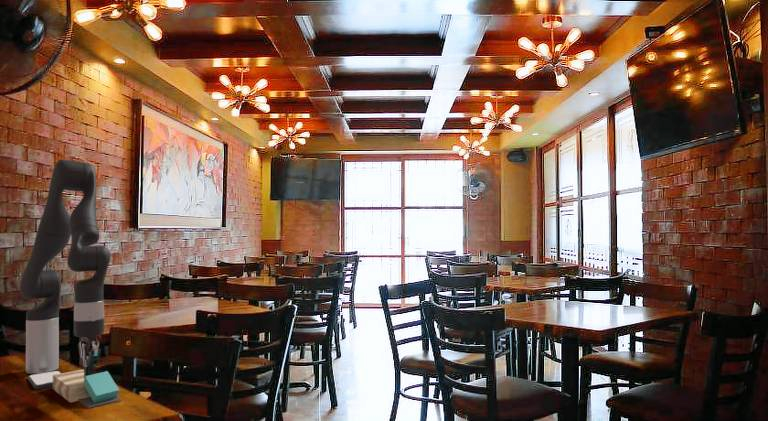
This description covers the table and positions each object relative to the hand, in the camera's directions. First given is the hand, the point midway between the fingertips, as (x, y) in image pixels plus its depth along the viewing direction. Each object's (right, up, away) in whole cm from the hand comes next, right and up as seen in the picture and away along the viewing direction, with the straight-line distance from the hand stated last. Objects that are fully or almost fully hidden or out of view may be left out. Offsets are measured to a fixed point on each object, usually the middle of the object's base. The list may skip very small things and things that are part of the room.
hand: (89, 379), depth 148 cm
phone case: (-22, -6, +16) cm, 28 cm away
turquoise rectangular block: (+4, -2, -2) cm, 5 cm away
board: (-6, -5, +5) cm, 9 cm away
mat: (+5, -5, -3) cm, 7 cm away
